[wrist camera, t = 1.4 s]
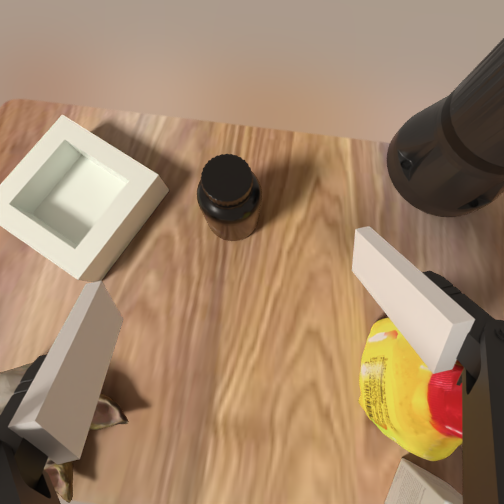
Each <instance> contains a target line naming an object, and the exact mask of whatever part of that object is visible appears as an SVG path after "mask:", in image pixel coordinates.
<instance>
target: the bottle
mask: <svg viewBox="0 0 504 504" xmlns="http://www.w3.org/2000/svg"><path fill="white" fill-rule="evenodd" d="M463 369H464V367H463V366H462V365H461V363H460V362H459V361H458V360H456V362H455V364H454V367H453V369H452V370H447V371H443V372H439V373H435V374H433V373H432V372H431V370H430V369H429V368H428V367H427V365H426V364H425V363H424V362H423V360H422V359H421V358H420V356H419V355H418V354H417V353H416V351H415V350H414V349H413V348H412V346H411V345H410V344H409V342H408V341H407V340H406V339H405V337H404V336H403V335H402V334H401V332H400V331H399V330H398V328H397V327H396V326H395V325H394V323H393V322H392V321H391V320H390V318H385V319H382V320H379V321H377V322H376V323H375V324H374V325H373V326H372V328H371V332H370V334H369V336H368V338H367V342H366V346H365V349H364V352H363V355H362V358H361V370H360V376H359V385H360V390H361V395H360V398H359V400H358V401H359V404H360V405H361V407H362V408H363V409H364V411H365V412H366V414H367V416H368V417H369V418H370V419H371V420H372V421H373V422H374V423H375V424H376V425H377V427H378V428H379V429H380V430H381V432H382V433H384V434H385V435H386V436H388V437H389V438H390V439H392V440H393V441H395V442H396V443H398V444H399V445H400V446H401V447H403V448H404V449H406V450H407V451H409V452H411V453H413V454H415V455H417V456H419V457H421V458H423V459H426V460H430V461H437V460H441V459H444V458H447V457H448V456H450V455H451V454H452V453H453V452H454V450H455V449H456V448H457V447H458V446H459V445H461V444H462V383H461V385H460V386H458V385H456V384H457V381H458V379H459V377H460V375H461V373H462V371H463Z"/></svg>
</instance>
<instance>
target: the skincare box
mask: <svg viewBox="0 0 504 504" xmlns="http://www.w3.org/2000/svg"><path fill="white" fill-rule="evenodd" d="M384 504H463V496H462V495H461V494H460V493H458V492H457V491H456V490H455V489H454V488H453V487H452V486H451V485H450V484H448V483H447V482H445V481H443V480H442V479H440V478H438V477H437V476H435V475H433V474H431V473H430V472H428V471H426V470H424V469H423V468H421V467H419V466H417V465H415V464H414V463H412V462H410V461H408V460H406V459H404V458H402V459H401V461H400V463H399V466H398V469H397V471H396V474H395V477H394V479H393V482H392V485H391V487H390V490H389V493H388V495H387V498H386V500H385V503H384Z"/></svg>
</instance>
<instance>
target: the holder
mask: <svg viewBox="0 0 504 504" xmlns="http://www.w3.org/2000/svg"><path fill="white" fill-rule="evenodd" d="M168 192H169V189H168V188H167V186H166V185H165V183H164V182H163V180H162V179H161V178H160V176H159V175H158V174H156V173H155V172H153V171H152V170H150V169H148V168H147V167H145V166H144V165H142V164H140V163H139V162H137V161H136V160H134V159H132V158H131V157H129V156H128V155H126V154H124V153H123V152H121V151H120V150H118V149H116V148H115V147H113V146H112V145H110V144H108V143H107V142H105V141H104V140H102V139H100V138H99V137H97V136H96V135H94V134H92V133H91V132H89V131H88V130H86V129H84V128H83V127H81V126H80V125H78V124H77V123H75V122H73V121H72V120H70V119H69V118H67V117H65V116H64V115H62V116H61V117H60V118H59V119H58V120H57V121H56V122H55V123H54V125H53V126H52V127H51V128H50V129H49V130H48V131H47V132H46V134H45V135H44V136H43V137H42V138H41V139H40V140H39V142H38V143H37V144H36V145H35V146H34V147H33V148H32V149H31V151H30V152H29V153H28V154H27V155H26V156H25V157H24V159H23V160H22V161H21V162H20V163H19V164H18V165H17V166H16V168H15V169H14V170H13V171H12V172H11V173H10V174H9V175H8V177H7V178H6V179H5V180H4V181H3V182H2V183H1V185H0V226H2V227H3V228H4V229H6V230H7V231H9V232H10V233H12V234H13V235H14V236H16V237H17V238H19V239H20V240H22V241H23V242H24V243H26V244H27V245H29V246H30V247H32V248H33V249H34V250H36V251H37V252H39V253H40V254H42V255H43V256H44V257H46V258H47V259H49V260H50V261H52V262H53V263H54V264H56V265H57V266H59V267H60V268H62V269H63V270H64V271H66V272H67V273H69V274H70V275H72V276H73V277H74V278H76V279H77V280H82V281H89V282H98V281H102V279H103V278H104V277H105V275H106V274H107V273H108V271H109V270H110V269H111V267H112V266H113V265H114V263H115V262H116V261H117V259H118V258H119V257H120V255H121V254H122V253H123V251H124V250H125V249H126V247H127V246H128V245H129V243H130V242H131V241H132V239H133V238H134V237H135V235H136V234H137V233H138V231H139V230H140V229H141V228H142V226H143V225H144V224H145V222H146V221H147V220H148V218H149V217H150V216H151V214H152V213H153V212H154V210H155V209H156V208H157V206H158V205H159V204H160V202H161V201H162V200H163V198H164V197H165V196H166V194H167V193H168Z"/></svg>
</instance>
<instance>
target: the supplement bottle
mask: <svg viewBox="0 0 504 504" xmlns="http://www.w3.org/2000/svg"><path fill="white" fill-rule="evenodd" d="M201 174H202V176H201V180H200V182H199V184H198V188H197V200H198V204H199V206H200V209H201V211H202V213H203V215H204V217H205V219H206V221H207V223H208V225H209V227H210V228H211V230H212V231H213V232H214V233H215V234H216V235H217V236H218V237H220V238H222V239H224V240H228V241H238V240H242V239H244V238H246V237H248V236H249V235H250V234H251V233H252V232H253V231H254V230H255V228H256V226H257V223H258V219H259V213H260V206H261V198H262V191H261V186H260V183H259V181H258V179H257V177H256V176H255V174H254V173H253V172H252V171H251V168H250V167H249V165H248V164H247V163H246V162H245V160H242V158H241V157H238V156H236V155H232V154H230V155H229V154H225V155H223V154H221V155H220V156H216V157H215V158H212V159H211V160H210V161H208V163H207V164H206V165H205V167H204V168H203V172H202V173H201Z"/></svg>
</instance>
